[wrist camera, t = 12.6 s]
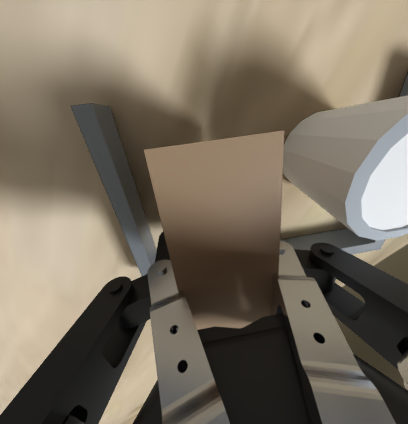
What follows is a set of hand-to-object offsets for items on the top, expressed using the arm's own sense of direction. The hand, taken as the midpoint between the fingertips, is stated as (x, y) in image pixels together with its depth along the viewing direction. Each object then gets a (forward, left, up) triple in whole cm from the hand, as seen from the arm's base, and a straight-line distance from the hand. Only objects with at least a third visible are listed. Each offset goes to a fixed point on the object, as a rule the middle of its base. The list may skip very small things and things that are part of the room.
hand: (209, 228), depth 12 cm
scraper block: (-2, 0, -1) cm, 2 cm away
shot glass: (-4, +9, -3) cm, 10 cm away
